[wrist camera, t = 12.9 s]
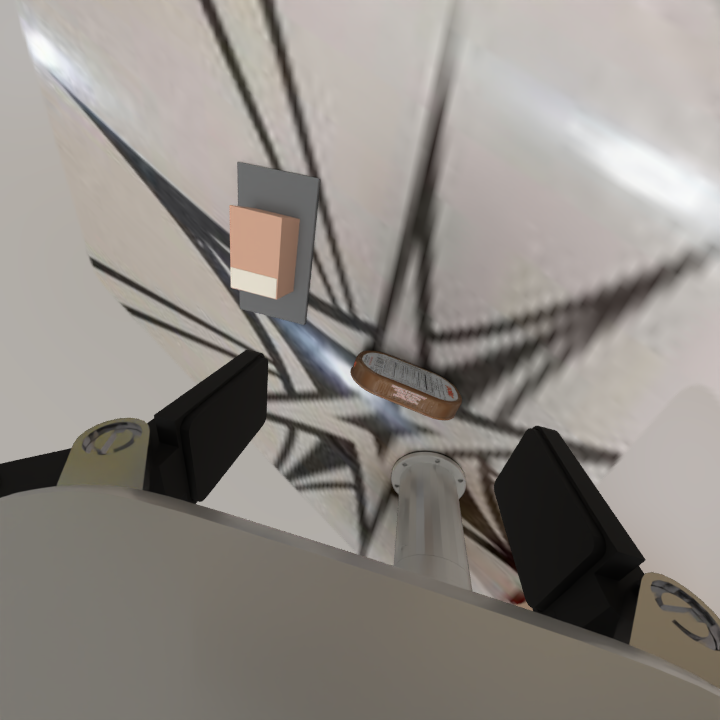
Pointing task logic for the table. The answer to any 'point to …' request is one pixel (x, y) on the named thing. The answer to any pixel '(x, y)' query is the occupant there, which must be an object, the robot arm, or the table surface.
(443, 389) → the tin
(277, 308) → the mat
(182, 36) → the table surface
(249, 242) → the block
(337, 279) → the table surface
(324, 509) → the table surface
